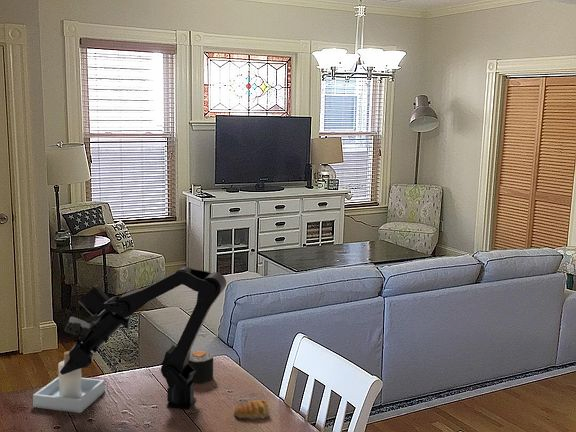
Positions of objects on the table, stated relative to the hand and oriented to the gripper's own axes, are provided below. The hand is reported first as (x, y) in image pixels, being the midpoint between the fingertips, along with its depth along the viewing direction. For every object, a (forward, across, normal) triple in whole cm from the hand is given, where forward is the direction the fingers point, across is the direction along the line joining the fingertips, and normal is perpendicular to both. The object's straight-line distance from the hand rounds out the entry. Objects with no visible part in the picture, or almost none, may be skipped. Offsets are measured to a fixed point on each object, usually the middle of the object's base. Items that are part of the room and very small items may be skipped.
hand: (64, 366), depth 181 cm
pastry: (-29, +14, +44) cm, 55 cm away
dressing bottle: (+5, 0, +7) cm, 9 cm away
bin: (+6, 0, +8) cm, 10 cm away
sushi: (-20, -11, +33) cm, 40 cm away
